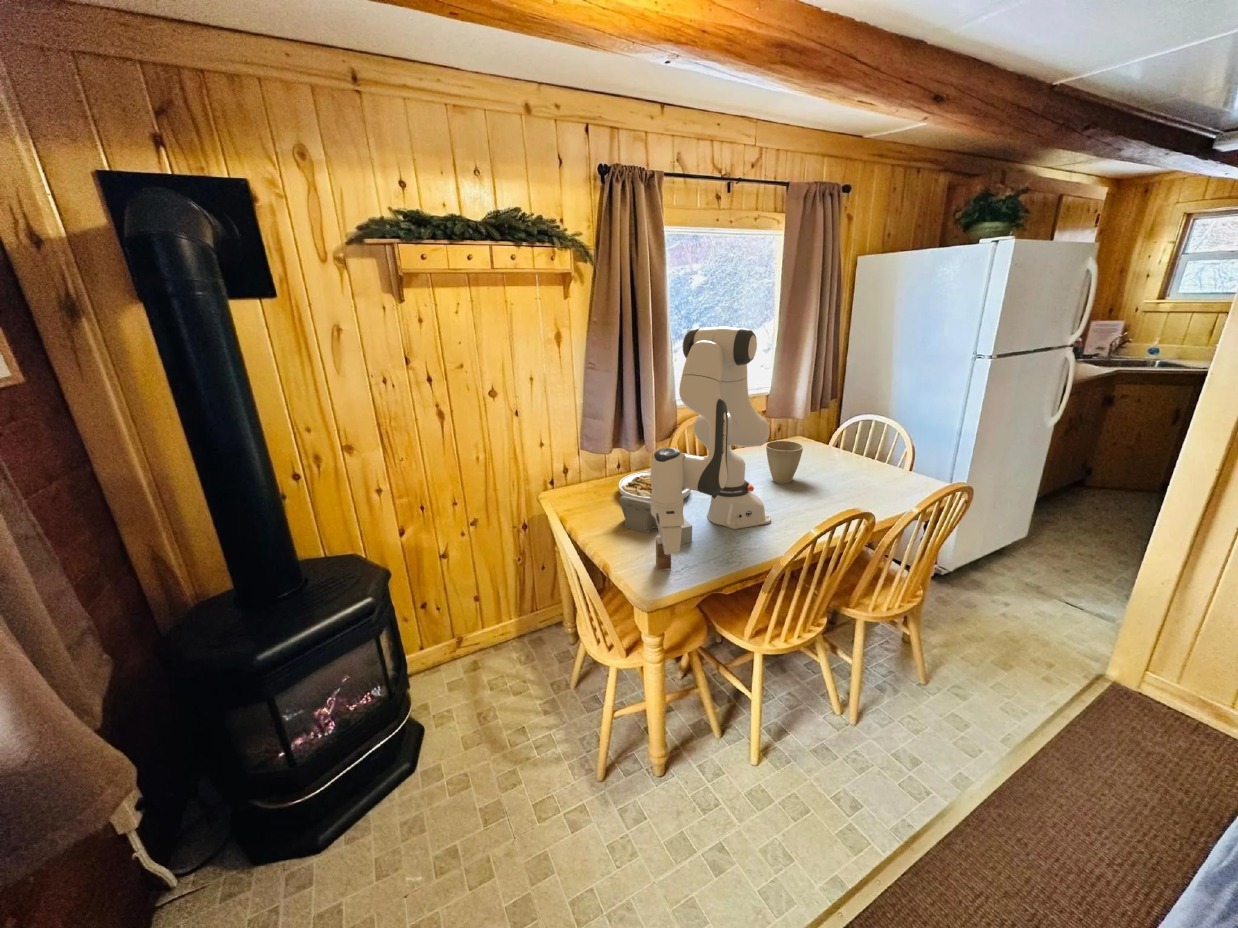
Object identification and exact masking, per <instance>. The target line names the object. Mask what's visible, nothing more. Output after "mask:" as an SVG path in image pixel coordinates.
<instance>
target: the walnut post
mask: <svg viewBox="0 0 1238 928" xmlns="http://www.w3.org/2000/svg"><path fill="white" fill-rule="evenodd" d="M655 564H656V569H657V571H670V570H672V554H667V555H666V554H664V550H663V543H662V539H661V536H660V537H658V536H657V537H655Z"/></svg>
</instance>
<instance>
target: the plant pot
mask: <svg viewBox="0 0 1238 928" xmlns="http://www.w3.org/2000/svg"><path fill="white" fill-rule="evenodd" d="M765 448H766V457H767V465H768V468H769V471H770V475H771V478H772V481H773V482H774V483H776V484H777V483H778V484H789V483H790V484H791V482H792V480H793V478H794V476H795V474H796V471H797V469H798V467H799V465H800V461H801V458H802V454H803V450H804V445H803V444H802V443H800V442H796V441H793V440H792V441H791V440H773V441H769V442H766V443H765Z"/></svg>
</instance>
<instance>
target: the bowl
mask: <svg viewBox="0 0 1238 928" xmlns="http://www.w3.org/2000/svg"><path fill="white" fill-rule="evenodd" d="M618 490H619V493H620V495H621V497H622V496H626V497H631V498H635V499H640V500H644V501H649V502H651V493H652V486H651V470H645V471H639V472H634V473H631V474H629V475H626V476H624V477H621V479H620V480H619V482H618ZM691 491H692V490H690V489H686V488H682V494H683V500H685V499H686V498H687V497H688V496H689V494H690V493H691Z"/></svg>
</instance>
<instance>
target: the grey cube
mask: <svg viewBox="0 0 1238 928" xmlns="http://www.w3.org/2000/svg"><path fill="white" fill-rule="evenodd" d="M681 527H682V533H681V545H685V544H689V543H693V525H692V524H691V523H690V522H689V521H688V520H687V519H685V518H684V525H683V526H681Z"/></svg>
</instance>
